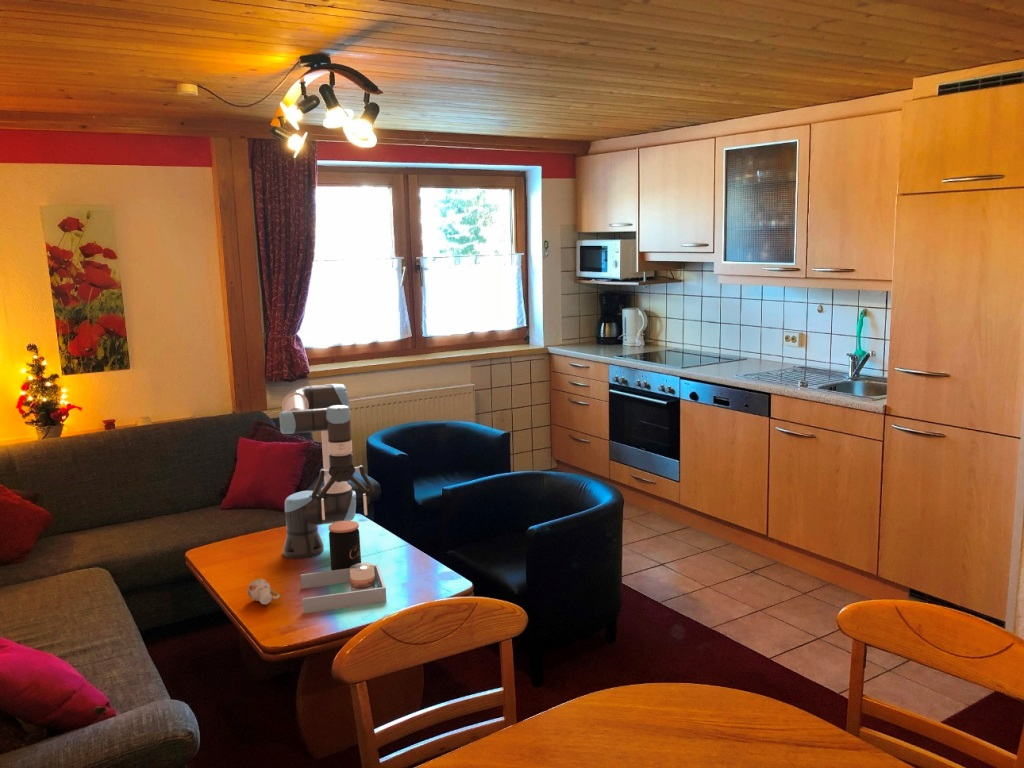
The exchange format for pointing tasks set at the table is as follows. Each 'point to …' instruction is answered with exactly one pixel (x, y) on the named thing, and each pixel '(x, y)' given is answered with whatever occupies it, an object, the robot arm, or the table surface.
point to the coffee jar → (344, 544)
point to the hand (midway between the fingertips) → (344, 516)
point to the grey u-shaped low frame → (341, 598)
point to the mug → (261, 591)
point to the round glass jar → (362, 576)
